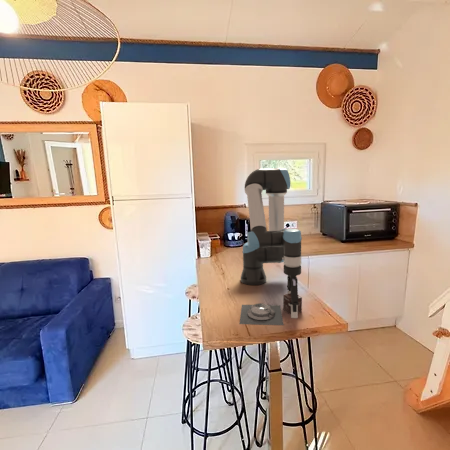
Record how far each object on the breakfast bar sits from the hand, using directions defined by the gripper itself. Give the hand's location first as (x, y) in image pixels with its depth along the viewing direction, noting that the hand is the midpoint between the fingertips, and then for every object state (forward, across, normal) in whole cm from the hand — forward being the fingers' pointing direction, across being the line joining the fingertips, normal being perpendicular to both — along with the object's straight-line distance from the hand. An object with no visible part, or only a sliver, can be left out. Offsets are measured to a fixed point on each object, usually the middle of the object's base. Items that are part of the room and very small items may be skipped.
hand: (292, 310), depth 124 cm
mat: (0, +4, -14) cm, 15 cm away
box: (0, 0, 0) cm, 0 cm away
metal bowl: (0, +4, -14) cm, 15 cm away
